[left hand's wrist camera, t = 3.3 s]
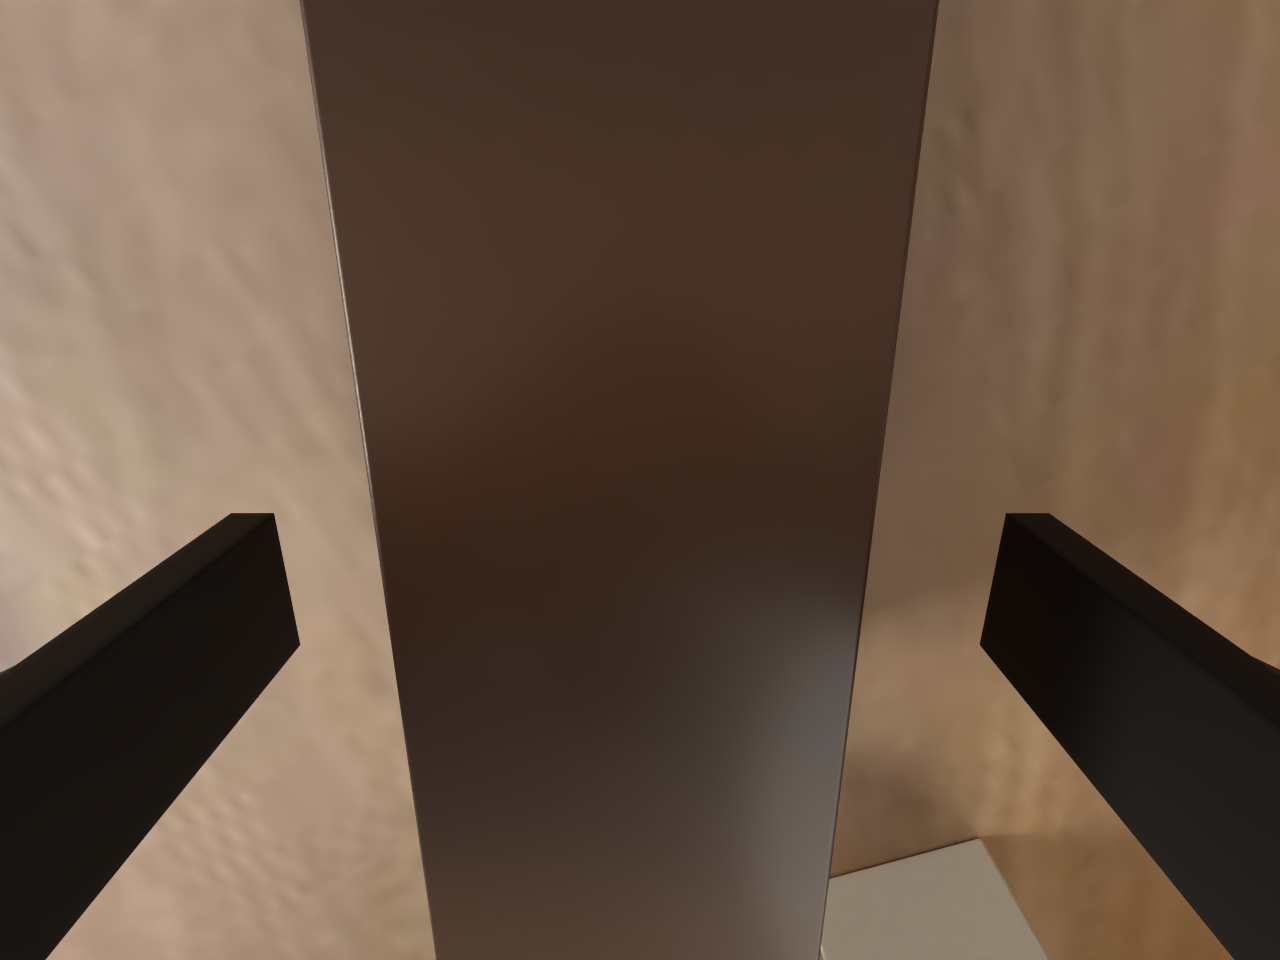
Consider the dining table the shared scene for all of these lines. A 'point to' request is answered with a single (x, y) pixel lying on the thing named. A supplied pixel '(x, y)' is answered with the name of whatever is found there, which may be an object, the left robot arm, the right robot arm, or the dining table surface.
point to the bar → (623, 439)
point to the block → (928, 911)
